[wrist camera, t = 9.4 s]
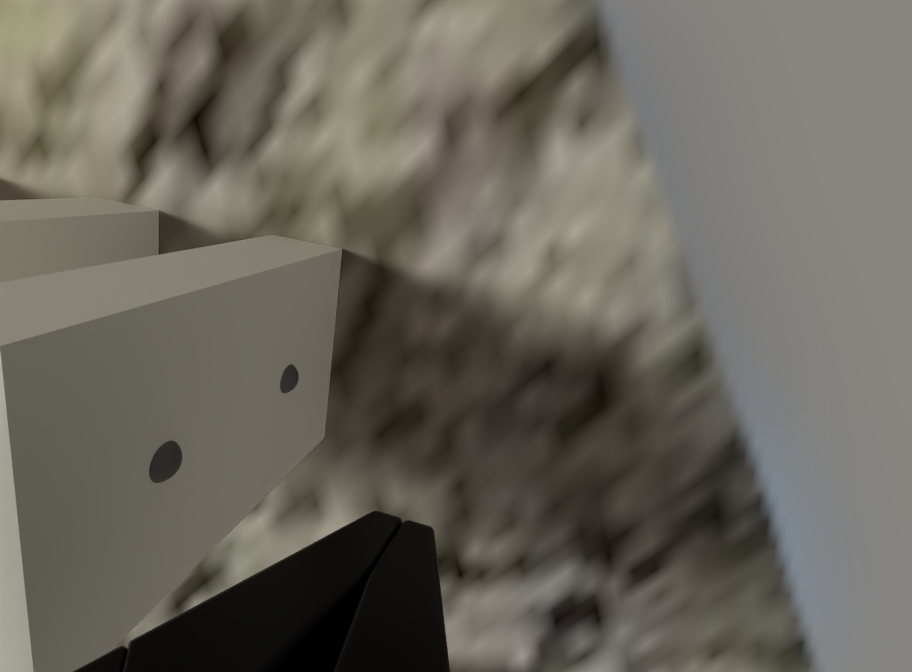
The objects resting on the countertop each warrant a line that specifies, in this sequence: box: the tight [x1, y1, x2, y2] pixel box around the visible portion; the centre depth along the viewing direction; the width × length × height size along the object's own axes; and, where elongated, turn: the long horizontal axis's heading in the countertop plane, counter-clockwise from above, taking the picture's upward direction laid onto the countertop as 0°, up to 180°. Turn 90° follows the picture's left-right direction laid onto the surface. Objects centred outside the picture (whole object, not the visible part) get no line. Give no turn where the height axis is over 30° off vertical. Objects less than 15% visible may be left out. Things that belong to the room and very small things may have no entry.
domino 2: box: [0, 235, 342, 672], centre depth 10 cm, size 5×2×8 cm, turn 171°
